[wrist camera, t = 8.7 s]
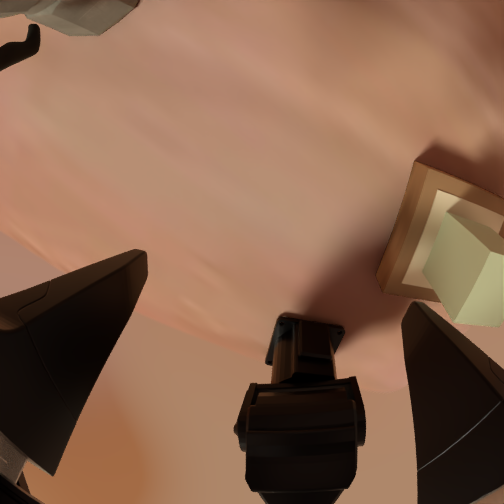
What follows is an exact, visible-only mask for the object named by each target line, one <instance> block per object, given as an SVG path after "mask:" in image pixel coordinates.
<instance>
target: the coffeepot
mask: <svg viewBox="0 0 504 504" xmlns="http://www.w3.org/2000/svg"><path fill="white" fill-rule="evenodd" d="M137 2H138V0H0V18H5V17H10V16H14V15H18V14H25V16H26V17H27V19H30V20H32V21H35V22H37V23H40V24H42V25H45V26H47V27H50V28H52V29H54V30H57V31H59V32H61V33H64V34H66V35H68V36H89V35H101V34H102V33H103V32H105V31H106V30H108V29H109V28H111V27H112V26H113V25H115V24H116V23H118V22H119V21H120V20H121V19H122V18H124V17H125V16H126V15H127V14H128V13H129V12H130V11H131V10H132V9H134V8H135V6H136V4H137ZM39 47H40V28H39V26H38V25H37V24H30V25H29V26H28V34H27V38H26V40H25V41H24V42H8V43H6V44H4V45H3V46H1V47H0V71H2V70H3V69H6V68H7V67H9V66H11V65H14V64H16V63H18V62H20V61H22V60H25V59H27V58H29V57H31V56H33V55H35V54H36V53H37V52H38V51H39Z"/></svg>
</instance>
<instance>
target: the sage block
mask: <svg viewBox="0 0 504 504" xmlns="http://www.w3.org/2000/svg"><path fill="white" fill-rule="evenodd" d="M422 272H423V274H424V276H425V277H426V279H427V280H428V282H429V283H430V285H431V286H432V288H433V290H434V291H435V293H436V294H437V296H438V298H439V299H440V301H441V303H442V304H443V306H444V308H445V309H446V311H447V313H448V314H449V316H450V318H451V320H452V321H453V323H460V324H470V325H480V326H490V327H500V325H501V324H502V322H503V321H504V239H503V238H502V237H501V236H500V235H499V234H497V233H496V232H495V231H494V230H493V229H491V228H490V227H488V226H485V225H482V224H480V223H477V222H474V221H472V220H469V219H466V218H463V217H461V216H458V215H455V214H452V213H449V212H446V213H445V216H444V219H443V221H442V224H441V227H440V229H439V232H438V235H437V237H436V240H435V242H434V245H433V247H432V250H431V252H430V254H429V257H428V259H427V261H426V264H425V266H424V268H423V270H422Z"/></svg>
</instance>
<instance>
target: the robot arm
mask: <svg viewBox="0 0 504 504" xmlns="http://www.w3.org/2000/svg"><path fill="white" fill-rule="evenodd" d="M147 276H148V264H147V253H146V252H145V251H143V250H138V249H133V250H130V251H127V252H124V253H122V254H119V255H116V256H113V257H110V258H108V259H105V260H102V261H99V262H97V263H94V264H91V265H89V266H86V267H83V268H81V269H78V270H75V271H73V272H70V273H67V274H65V275H62V276H60V277H57V278H54V279H52V280H51V281H47V282H45V283H42V284H39V285H36V286H34V287H31V288H28V289H26V290H23V291H20V292H17V293H14V294H11V295H8V296H5V297H2V298H0V504H44V503H43V502H41V501H40V500H38V499H37V498H35V497H34V496H32V495H31V494H30V491H29V489H28V486H27V483H26V480H25V477H24V474H23V471H22V470H23V468H24V466H25V464H26V462H27V461H29V462H30V463H32V464H33V465H35V466H36V467H38V468H39V469H41V470H43V471H44V472H46V473H48V474H49V475H51V476H54V474H55V472H56V470H57V467H58V465H59V462H60V460H61V458H62V455H63V453H64V450H65V448H66V446H67V443H68V441H69V439H70V436H71V434H72V432H73V429H74V427H75V425H76V422H77V420H78V418H79V416H80V414H81V411H82V409H83V407H84V405H85V403H86V401H87V399H88V396H89V395H90V393H91V391H92V388H93V387H94V385H95V382H96V381H97V379H98V377H99V374H100V373H101V371H102V369H103V367H104V365H105V363H106V361H107V359H108V357H109V355H110V353H111V352H112V350H113V348H114V346H115V344H116V342H117V340H118V338H119V337H120V335H121V333H122V331H123V329H124V328H125V326H126V324H127V322H128V320H129V318H130V316H131V314H132V312H133V310H134V308H135V305H136V303H137V301H138V298H139V296H140V294H141V291H142V289H143V287H144V284H145V282H146V280H147ZM280 322H284V323H280ZM401 328H402V338H403V348H404V359H405V367H406V373H407V379H408V385H409V391H410V398H411V405H412V414H413V422H414V430H415V431H414V432H415V443H416V458H417V471H418V472H417V486H418V504H504V369H503V368H501V367H500V366H499V365H498V364H497V363H496V362H494V361H493V360H492V359H491V358H490V357H488V355H486V354H485V353H484V352H483V351H482V350H481V349H480V348H478V347H477V346H476V345H475V344H474V343H472V342H471V341H470V340H469V339H468V338H466V337H465V336H464V335H463V334H462V333H461V332H459V331H458V330H457V329H456V328H454V327H453V326H452V325H451V324H450V323H448V322H447V321H446V320H445V319H443V318H442V317H441V316H440V315H438V314H437V313H436V312H435V311H433V310H432V309H431V308H430V307H428V306H427V305H426V304H424V303H422V302H417V301H414V302H412V303H411V304H410V306H409V308H408V310H407V312H406V314H405V316H404V317H403V319H402V323H401ZM338 331H340V332H338ZM344 334H345V329H344V327H342V326H337V325H331V324H324V323H317V322H311V321H305V320H299V319H293V318H287V317H279V318H278V319H277V321H276V324H275V328H274V331H273V335H272V338H271V342H270V345H269V348H268V352H267V355H266V359H265V363H266V364H267V365H270V366H272V377H271V384H257V383H251V384H250V386H249V389H248V390H247V392H246V395H245V398H244V401H243V404H242V407H241V410H240V413H239V416H238V419H237V422H236V424H235V425H234V433H235V434H236V435H237V436H238V438H239V444H240V448H241V450H242V451H243V452H246V474H245V480H246V482H247V484H248V485H249V488H250V489H251V491H253V492H258V493H259V495H260V496H261V498H262V499H263V500H264V502H265V503H266V504H334V503H335V501H336V500H337V499H338V498H339V496H340V494H341V493H342V492H343V490H344V489H348V488H349V486H350V485H351V483H352V481H353V479H354V478H355V475H356V470H357V447H358V446H363V445H364V443H365V436H366V417H365V410H364V404H363V401H362V397H361V393H360V390H359V386H358V383H357V379H356V376H352V377H349V378H344V379H337V376H336V367H335V359H334V354H335V352H336V350H337V348H338V346H339V344H340V342H341V340H342V338H343V336H344Z"/></svg>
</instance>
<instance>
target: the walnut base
mask: <svg viewBox="0 0 504 504" xmlns="http://www.w3.org/2000/svg"><path fill="white" fill-rule="evenodd" d="M446 212H449V213H452V214H455V215H458V216H461V217H463V218H466V219H469V220H472V221H474V222H477V223H480V224H482V225H485V226H488V227H490V228H491V229H493V230H494V231H495V232H496V233H497V234H499V235H500V236H501V237H502V238H503V239H504V199H503V198H502V197H500V196H498V195H496V194H494V193H492V192H490V191H487V190H485V189H483V188H481V187H479V186H477V185H474V184H472V183H470V182H468V181H465V180H463V179H461V178H458V177H456V176H453V175H451V174H448V173H446V172H443V171H441V170H438V169H436V168H433V167H430V166H428V165H425V164H422V163H420V162H417V161H414V164H413V167H412V171H411V175H410V178H409V182H408V185H407V188H406V192H405V195H404V198H403V201H402V204H401V207H400V211H399V214H398V217H397V220H396V222H395V225H394V228H393V231H392V234H391V237H390V239H389V242H388V245H387V247H386V250H385V253H384V255H383V258H382V261H381V263H380V266H379V268H378V271H377V273H376V275H375V276H376V278H377V281H378V283H379V285H380V288H381V290H382V292H383V293H386V294H392V295H397V296H403V297H409V298H415V299H421V300H428V301H434V302H440V303H441V301H440V299H439V298H438V296H437V294H436V293H435V291H434V290H433V288H432V286H431V285H430V283H429V282H428V280H427V279H426V277H425V276H424V274H423V272H422V270H423V268H424V266H425V264H426V261H427V259H428V257H429V254H430V252H431V250H432V247H433V245H434V242H435V240H436V237H437V235H438V232H439V229H440V227H441V224H442V221H443V219H444V216H445V213H446Z"/></svg>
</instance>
